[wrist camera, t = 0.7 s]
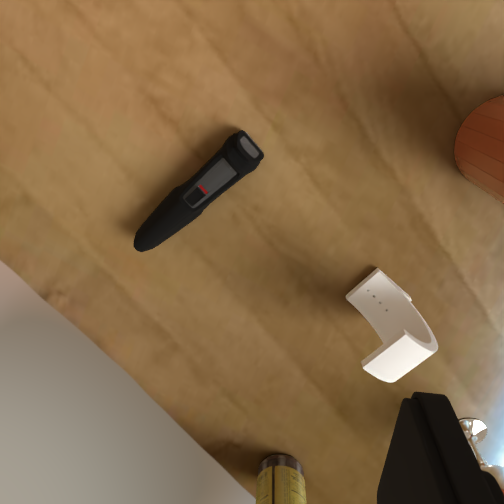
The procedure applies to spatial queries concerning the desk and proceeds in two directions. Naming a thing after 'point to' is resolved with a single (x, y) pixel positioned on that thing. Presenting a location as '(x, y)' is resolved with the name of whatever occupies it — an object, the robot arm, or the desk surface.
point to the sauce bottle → (280, 481)
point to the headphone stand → (392, 327)
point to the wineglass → (475, 435)
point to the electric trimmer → (199, 190)
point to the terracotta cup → (483, 147)
